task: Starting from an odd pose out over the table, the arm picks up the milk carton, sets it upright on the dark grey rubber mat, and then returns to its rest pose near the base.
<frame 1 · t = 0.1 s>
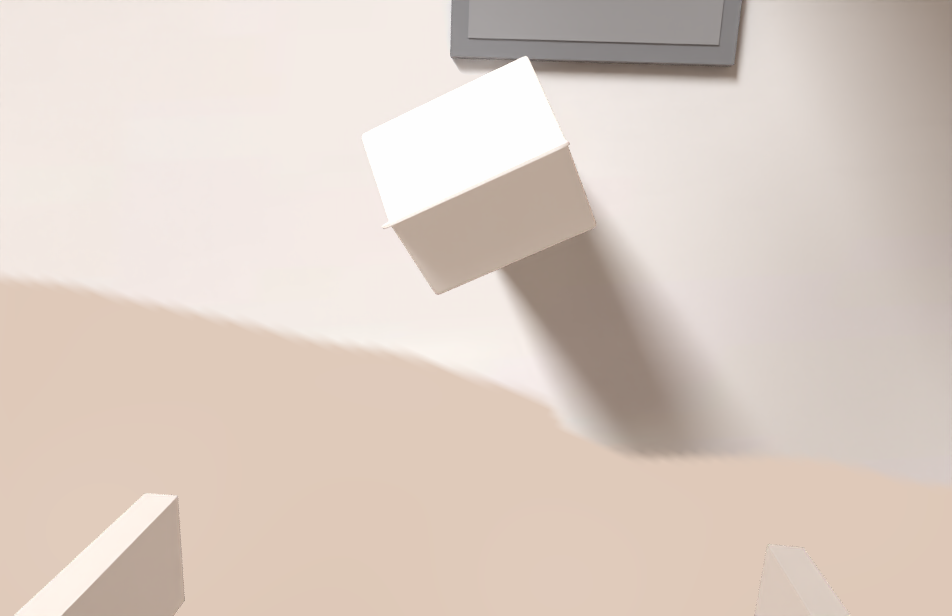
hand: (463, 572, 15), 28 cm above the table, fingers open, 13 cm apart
milk: (498, 164, 40), on the table
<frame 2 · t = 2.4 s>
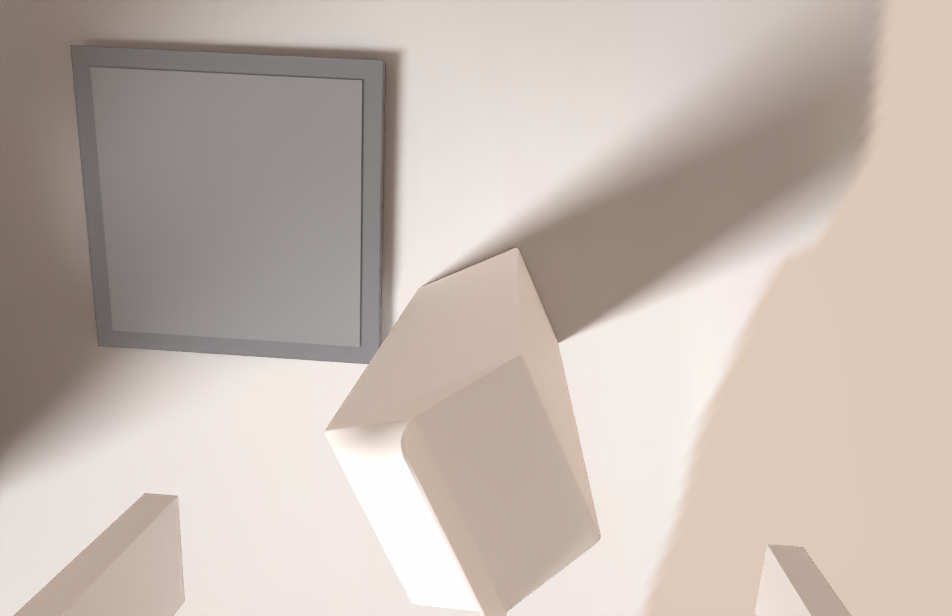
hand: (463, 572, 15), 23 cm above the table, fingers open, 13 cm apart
mat: (237, 210, 36), on the table
milk: (488, 314, 37), on the table
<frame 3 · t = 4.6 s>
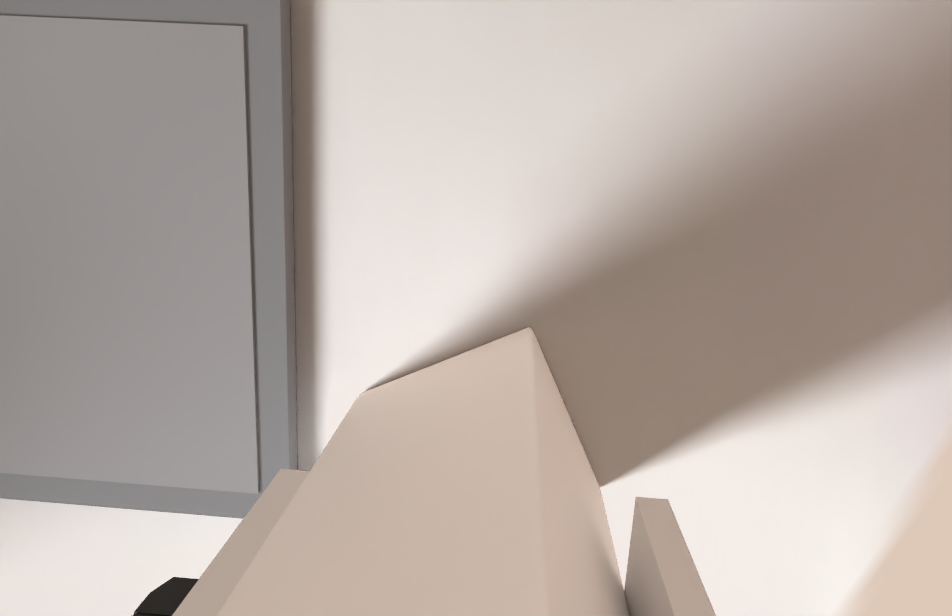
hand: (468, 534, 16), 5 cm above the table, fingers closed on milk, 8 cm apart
mat: (43, 260, 21), on the table
milk: (480, 438, 21), on the table, touching gripper
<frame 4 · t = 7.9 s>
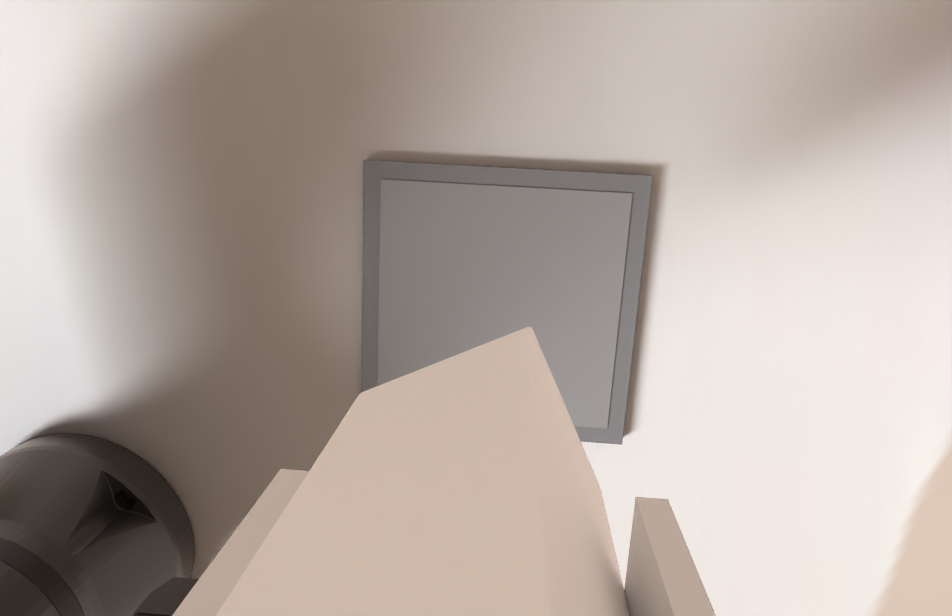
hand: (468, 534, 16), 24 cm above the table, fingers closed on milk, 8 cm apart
mat: (498, 304, 39), on the table
milk: (480, 437, 21), point 18 cm above the table, touching gripper
when the fingers open (7 cm above the table, at t = 11.2 s): milk stays where it is, resting on mat.
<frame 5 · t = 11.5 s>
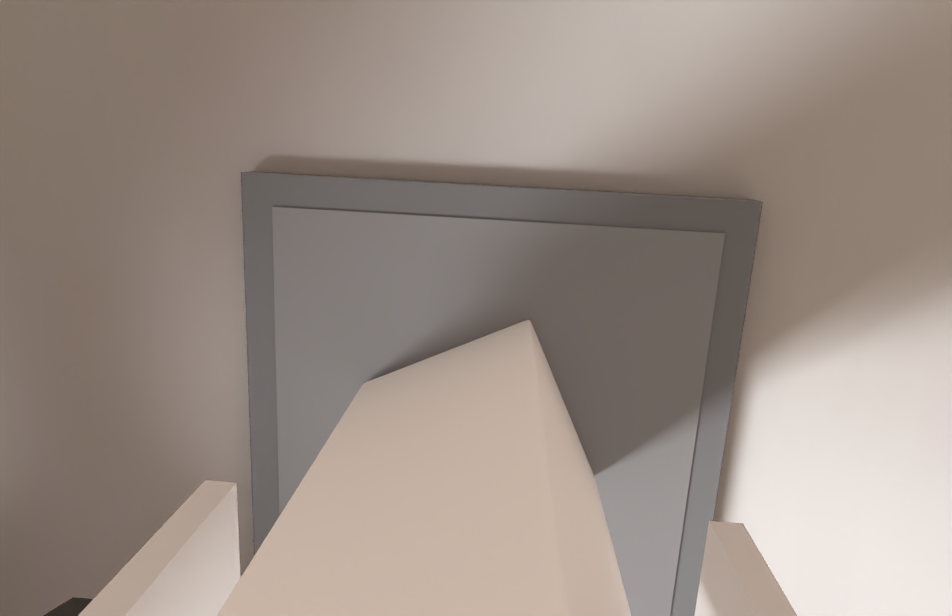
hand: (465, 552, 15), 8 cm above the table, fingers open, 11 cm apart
mat: (483, 418, 23), on the table
milk: (479, 427, 22), point 1 cm above the table, touching mat
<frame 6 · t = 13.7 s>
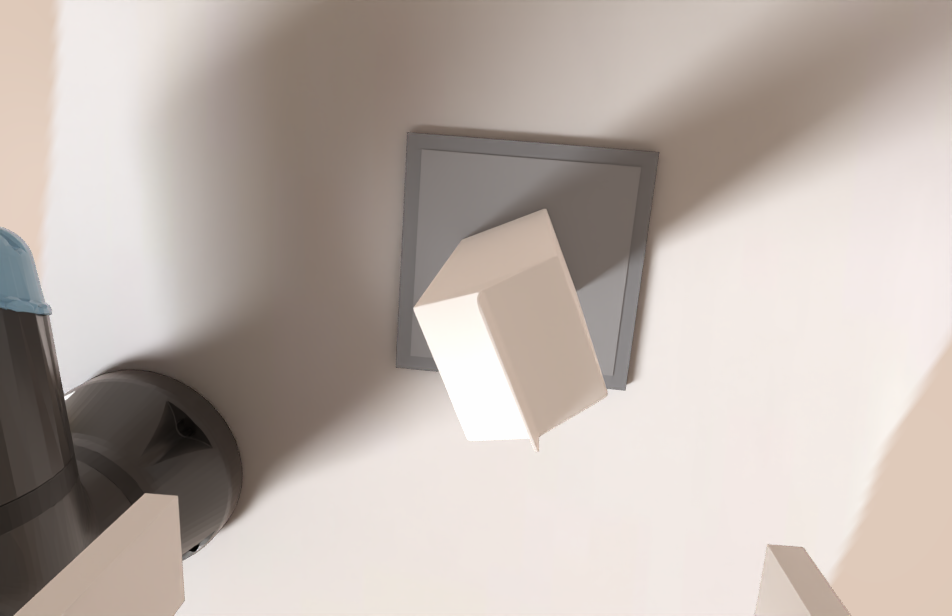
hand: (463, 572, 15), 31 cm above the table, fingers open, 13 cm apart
mat: (520, 263, 45), on the table
milk: (518, 265, 44), point 1 cm above the table, touching mat
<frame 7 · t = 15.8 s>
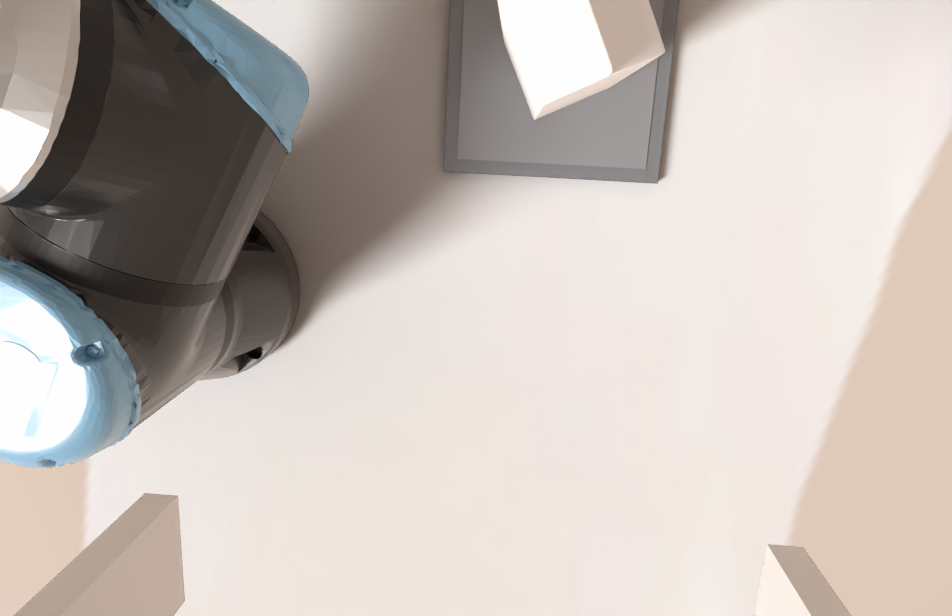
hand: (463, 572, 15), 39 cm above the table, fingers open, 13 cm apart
mat: (557, 66, 48), on the table
milk: (557, 64, 48), point 1 cm above the table, touching mat
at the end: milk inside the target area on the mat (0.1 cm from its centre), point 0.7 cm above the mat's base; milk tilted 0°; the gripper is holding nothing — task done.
